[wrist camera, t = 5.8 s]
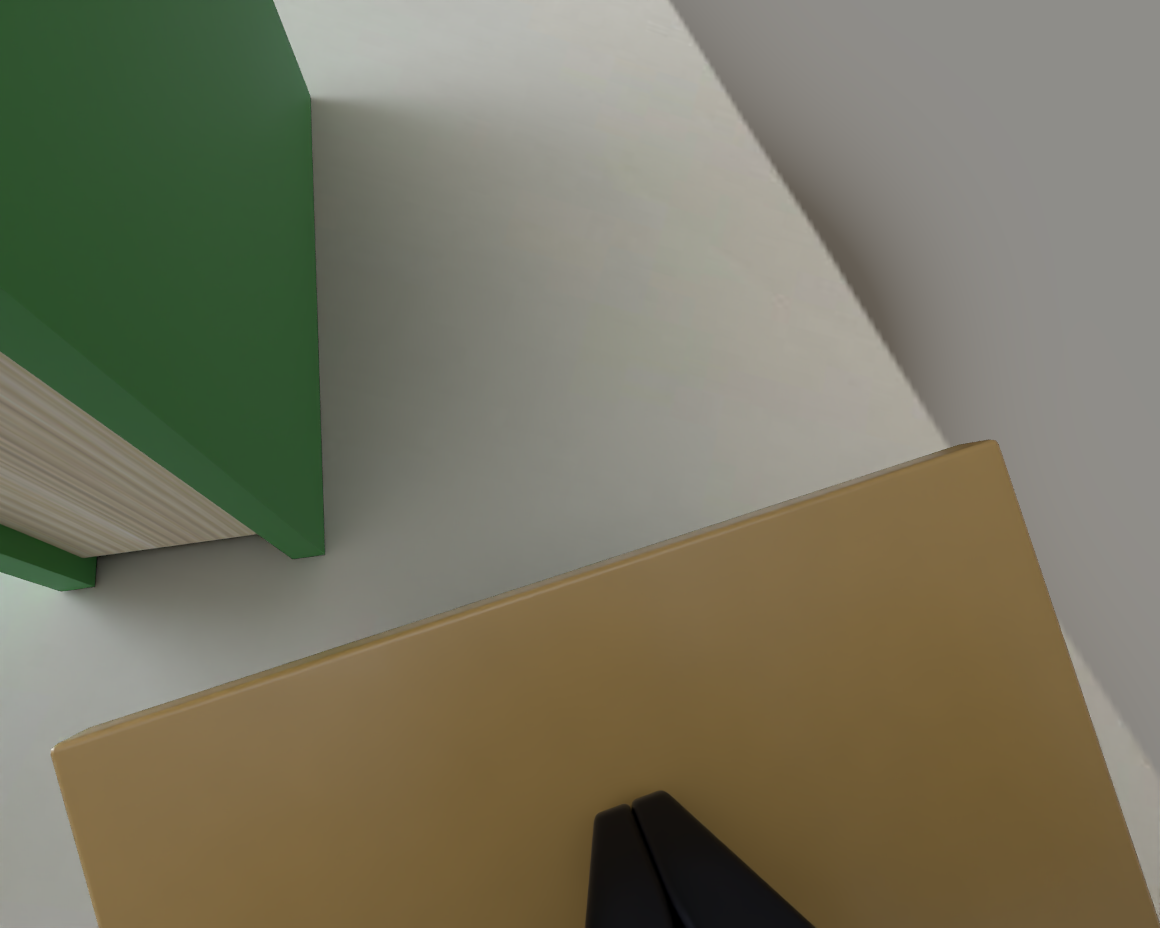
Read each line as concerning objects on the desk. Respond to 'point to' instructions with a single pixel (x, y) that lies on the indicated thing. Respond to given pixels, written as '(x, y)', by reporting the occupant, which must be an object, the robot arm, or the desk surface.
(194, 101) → the hardback book
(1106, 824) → the lid
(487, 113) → the desk surface
